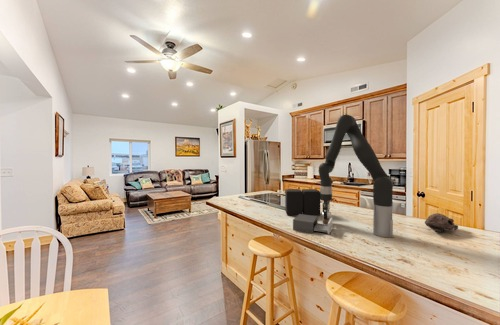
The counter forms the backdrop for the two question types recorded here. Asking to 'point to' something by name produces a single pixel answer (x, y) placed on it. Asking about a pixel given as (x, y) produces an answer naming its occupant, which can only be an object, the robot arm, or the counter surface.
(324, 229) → the drawer
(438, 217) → the brown toy animal
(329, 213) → the disc
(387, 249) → the counter surface
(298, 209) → the speaker
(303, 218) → the cylinder
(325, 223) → the brown rounded cylinder
